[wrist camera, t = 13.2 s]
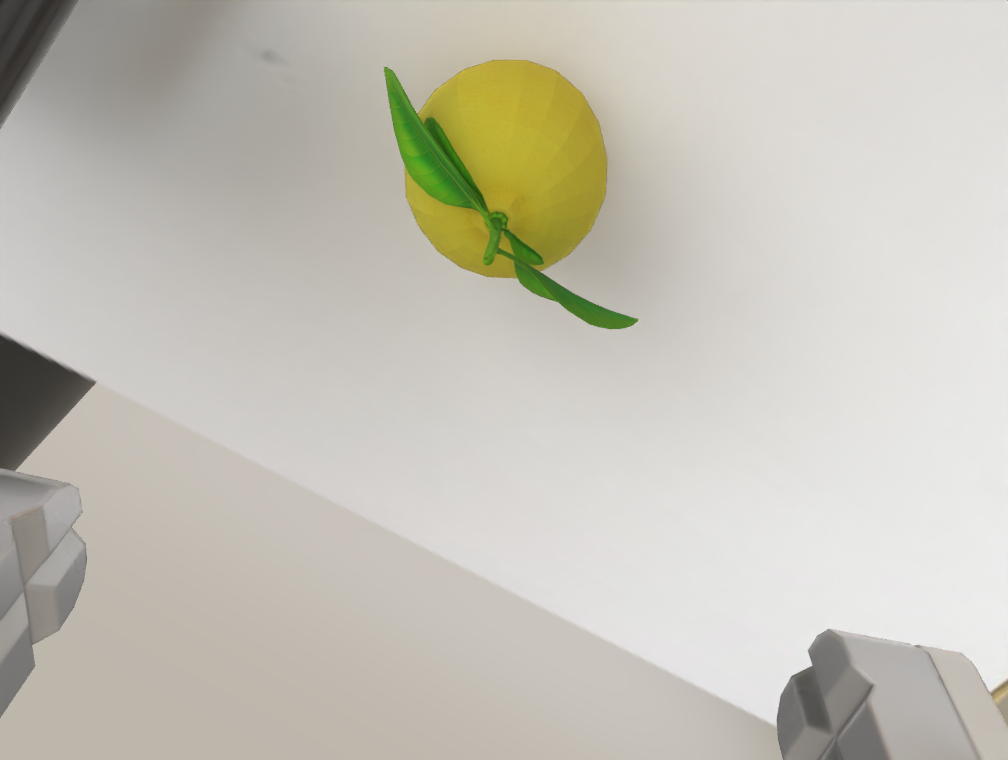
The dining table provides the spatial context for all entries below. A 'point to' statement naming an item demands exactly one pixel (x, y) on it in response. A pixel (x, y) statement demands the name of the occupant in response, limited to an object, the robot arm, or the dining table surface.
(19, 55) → the drawer
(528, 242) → the lemon
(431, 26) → the dining table surface
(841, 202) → the dining table surface
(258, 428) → the dining table surface
